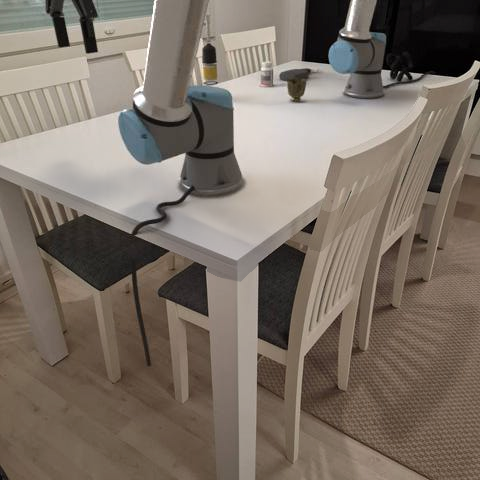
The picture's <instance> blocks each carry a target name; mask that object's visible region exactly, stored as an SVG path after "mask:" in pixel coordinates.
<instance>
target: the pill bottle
mask: <svg viewBox="0 0 480 480" xmlns="http://www.w3.org/2000/svg"><path fill="white" fill-rule="evenodd" d="M272 66H273V62H272V61H269V60H268V61H262V67H261V68H260V86H261V87H264V88H270V87H273V86H274V68H273V67H272Z"/></svg>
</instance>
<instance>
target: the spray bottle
mask: <svg viewBox="0 0 480 480" xmlns="http://www.w3.org/2000/svg"><path fill="white" fill-rule="evenodd" d="M322 71H323V68H319V67H310V66H308V67H306V68H293V69H288V70H283V71H281V72H280V73H279V75H278V78H279V79H280V80H281V81H287V79H289V81H290V79H291V80H292V78H296V79H297V78H299V80H301V79H302V78H303V79H306V80H307V78H308V77H309V75H310V74H311V73H312V72H313V73H314V72H315V73H316V72H322Z"/></svg>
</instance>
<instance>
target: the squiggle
mask: <svg viewBox="0 0 480 480" xmlns="http://www.w3.org/2000/svg"><path fill="white" fill-rule="evenodd" d="M401 57H402V59H401ZM391 59H392V60H391ZM393 60H394V61H393ZM385 61H386V64H387V67H390V68H391V70H390V72H389V78H390V79H391V80H395V79H396V82H403V79H404V76H406V78H407V80H408V81H411V80H414V77H413V75H412V74H411V73H410V72H409V71H410V70H412V69H413V68H414V64H413V61H412V57H411V54H410V53H409V52H408V51H403V53H402V54H401V55H396V54H394V53H392V52H390V53H387V55H386V57H385ZM406 62H407V65H408V66H407V67H405V66H404V65H405V64H406ZM400 70H401V71H400Z"/></svg>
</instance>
